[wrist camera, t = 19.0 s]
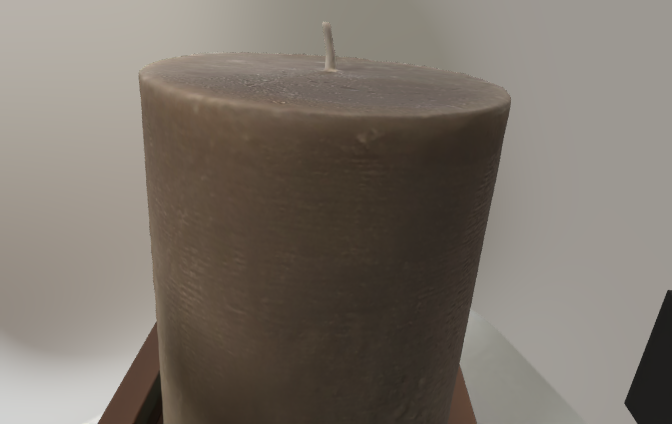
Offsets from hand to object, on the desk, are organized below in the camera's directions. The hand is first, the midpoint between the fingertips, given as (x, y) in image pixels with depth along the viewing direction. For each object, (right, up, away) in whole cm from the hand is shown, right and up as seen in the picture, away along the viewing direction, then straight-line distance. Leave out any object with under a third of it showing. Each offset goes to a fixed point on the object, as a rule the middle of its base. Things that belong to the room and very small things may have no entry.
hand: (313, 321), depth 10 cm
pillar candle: (-1, -7, +9) cm, 12 cm away
